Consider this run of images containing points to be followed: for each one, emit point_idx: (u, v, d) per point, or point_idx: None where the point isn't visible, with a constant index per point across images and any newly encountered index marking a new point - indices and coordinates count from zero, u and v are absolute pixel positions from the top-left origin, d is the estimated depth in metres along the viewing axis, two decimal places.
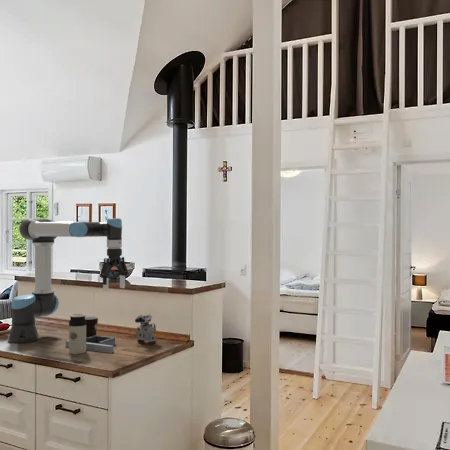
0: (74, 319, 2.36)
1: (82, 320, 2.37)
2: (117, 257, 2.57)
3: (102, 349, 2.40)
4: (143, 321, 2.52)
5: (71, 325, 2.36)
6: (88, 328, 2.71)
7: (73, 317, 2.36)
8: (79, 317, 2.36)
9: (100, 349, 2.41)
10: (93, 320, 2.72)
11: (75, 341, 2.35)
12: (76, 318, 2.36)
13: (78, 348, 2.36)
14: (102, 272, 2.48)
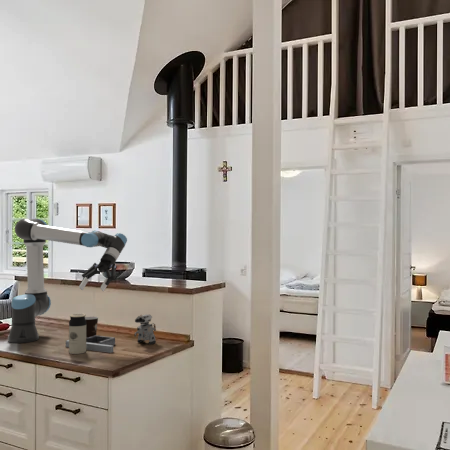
0: (74, 319, 2.36)
1: (82, 320, 2.37)
2: None
3: (102, 349, 2.40)
4: (143, 321, 2.52)
5: (71, 325, 2.36)
6: (88, 328, 2.71)
7: (73, 317, 2.36)
8: (79, 317, 2.36)
9: (100, 349, 2.41)
10: (93, 320, 2.72)
11: (75, 341, 2.35)
12: (76, 318, 2.36)
13: (78, 348, 2.36)
14: (114, 275, 2.55)
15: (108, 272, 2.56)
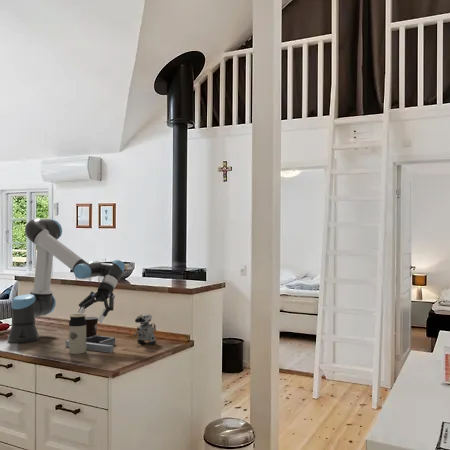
0: (74, 319, 2.36)
1: (82, 320, 2.37)
2: None
3: (102, 349, 2.40)
4: (143, 321, 2.52)
5: (71, 325, 2.36)
6: (88, 328, 2.71)
7: (73, 317, 2.36)
8: (79, 317, 2.36)
9: (100, 349, 2.41)
10: (93, 320, 2.72)
11: (75, 341, 2.35)
12: (76, 318, 2.36)
13: (78, 348, 2.36)
14: (112, 305, 2.47)
15: (106, 302, 2.48)
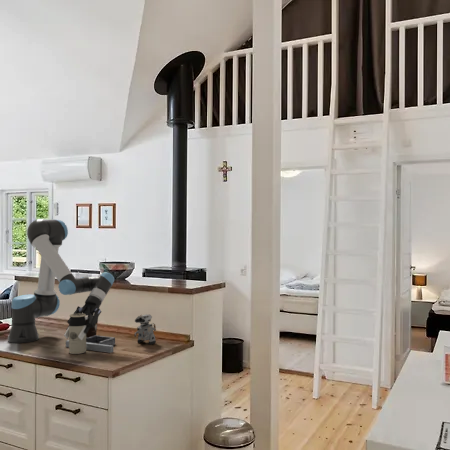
0: (74, 319, 2.36)
1: (82, 320, 2.37)
2: None
3: (102, 349, 2.40)
4: (143, 321, 2.52)
5: (71, 325, 2.36)
6: None
7: (73, 317, 2.36)
8: (79, 317, 2.36)
9: (100, 349, 2.41)
10: None
11: (75, 341, 2.35)
12: (76, 318, 2.36)
13: (78, 348, 2.36)
14: (94, 322, 2.39)
15: (89, 318, 2.41)
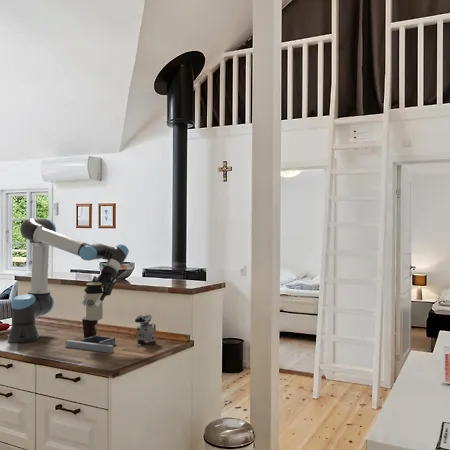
0: (91, 287, 2.47)
1: (98, 288, 2.48)
2: None
3: (102, 349, 2.40)
4: (143, 321, 2.52)
5: (88, 293, 2.47)
6: (88, 328, 2.71)
7: (90, 285, 2.47)
8: (95, 285, 2.47)
9: (100, 349, 2.41)
10: (93, 320, 2.72)
11: (92, 308, 2.46)
12: (93, 286, 2.47)
13: (95, 315, 2.46)
14: (110, 290, 2.50)
15: (105, 287, 2.51)
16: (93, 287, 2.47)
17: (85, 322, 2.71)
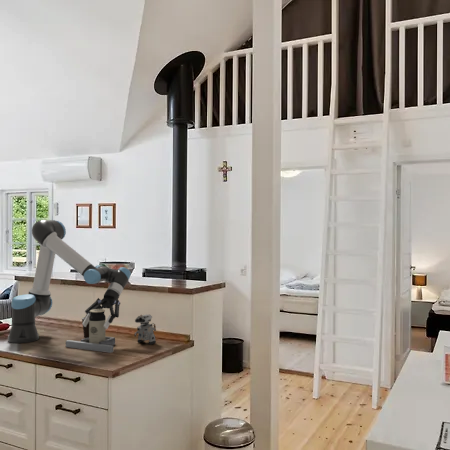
0: (94, 314, 2.49)
1: (102, 315, 2.51)
2: None
3: (102, 349, 2.40)
4: (143, 321, 2.52)
5: (91, 320, 2.49)
6: (88, 328, 2.71)
7: (93, 312, 2.49)
8: (99, 312, 2.50)
9: (100, 349, 2.41)
10: None
11: (95, 335, 2.49)
12: (96, 313, 2.49)
13: (98, 342, 2.49)
14: (117, 312, 2.52)
15: (111, 309, 2.54)
16: (96, 314, 2.49)
17: None
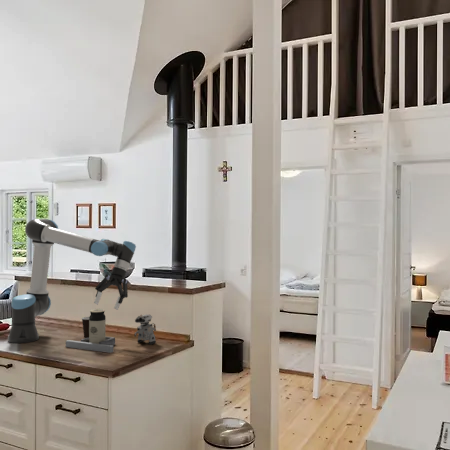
0: (94, 314, 2.49)
1: (102, 315, 2.51)
2: None
3: (102, 349, 2.40)
4: (143, 321, 2.52)
5: (91, 320, 2.49)
6: (88, 328, 2.71)
7: (93, 312, 2.49)
8: (99, 312, 2.50)
9: (100, 349, 2.41)
10: None
11: (95, 335, 2.49)
12: (96, 313, 2.49)
13: (98, 342, 2.49)
14: (126, 292, 2.62)
15: (120, 289, 2.62)
16: (96, 314, 2.49)
17: (85, 322, 2.71)
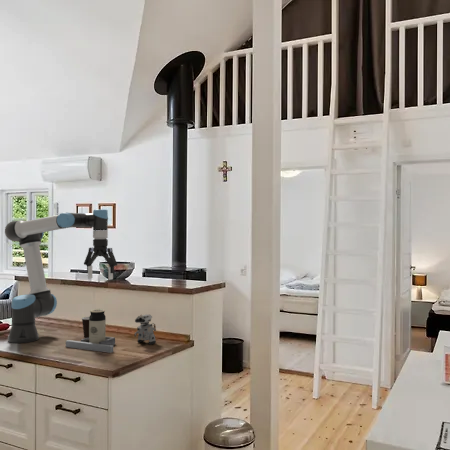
0: (94, 314, 2.49)
1: (102, 315, 2.51)
2: None
3: (102, 349, 2.40)
4: (143, 321, 2.52)
5: (91, 320, 2.49)
6: (88, 328, 2.71)
7: (93, 312, 2.49)
8: (99, 312, 2.50)
9: (100, 349, 2.41)
10: None
11: (95, 335, 2.49)
12: (96, 313, 2.49)
13: (98, 342, 2.49)
14: (114, 261, 2.60)
15: (107, 260, 2.60)
16: (96, 314, 2.49)
17: (85, 322, 2.71)
